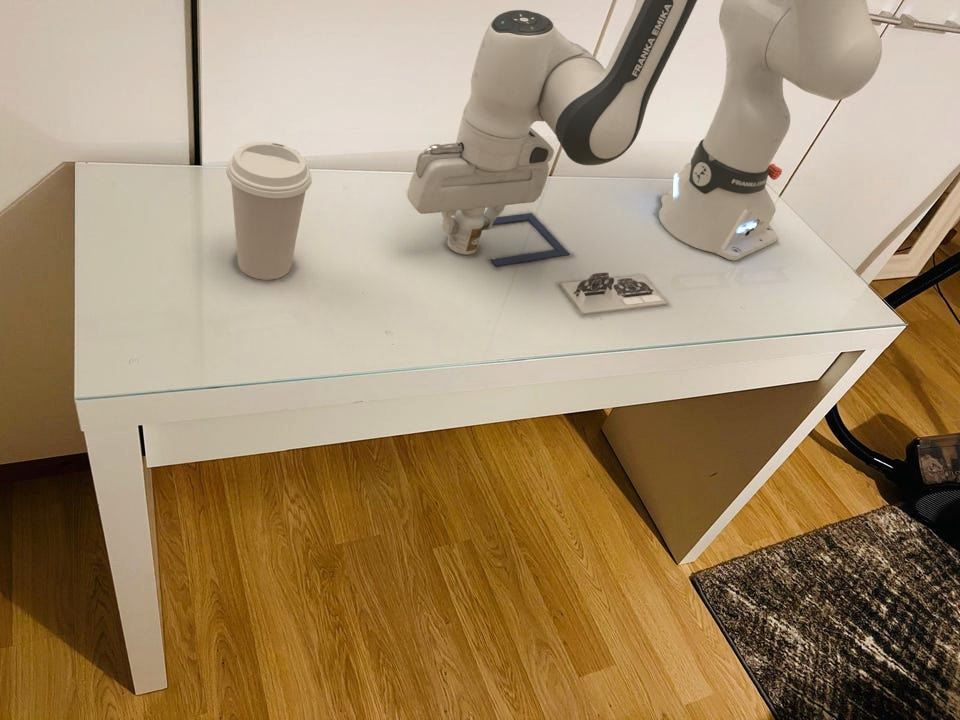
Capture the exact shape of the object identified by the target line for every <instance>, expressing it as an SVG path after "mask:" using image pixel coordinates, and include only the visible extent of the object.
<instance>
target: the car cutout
mask: <svg viewBox="0 0 960 720" xmlns="http://www.w3.org/2000/svg"><path fill="white" fill-rule="evenodd" d="M559 287H560V288H561V290H562V291H563V292H564V293H565V295H566V296H567V297H568V299H569V300H570V302H571V303H572V305H573V306H574V307H575V308H576V309H577V311H578V313H579V314H580V315H581V316H582V317H583V316H592V315H600V314H608V313H616V312H624V311H625V312H626V311H633V310H640V309H641V310H642V309H648V308H657V307H664V306H667V305H668V301H666V300H665V299H664V297H663V296H662V295H661V294H660V293H659V292H658V290H657V289H656V288H655V287H654V286H653V285H652V283H651V282H650V281H649V280H648V279H647V278H646V277H645V276H644V275H643V274H639V275H631V276H630V275H629V276H620V277H610V273H609V272H605V271H604V272H595V273H592V274H590V276H589V277H588V278H587V279H583V280H578V281H568V282H560V283H559Z"/></svg>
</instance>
